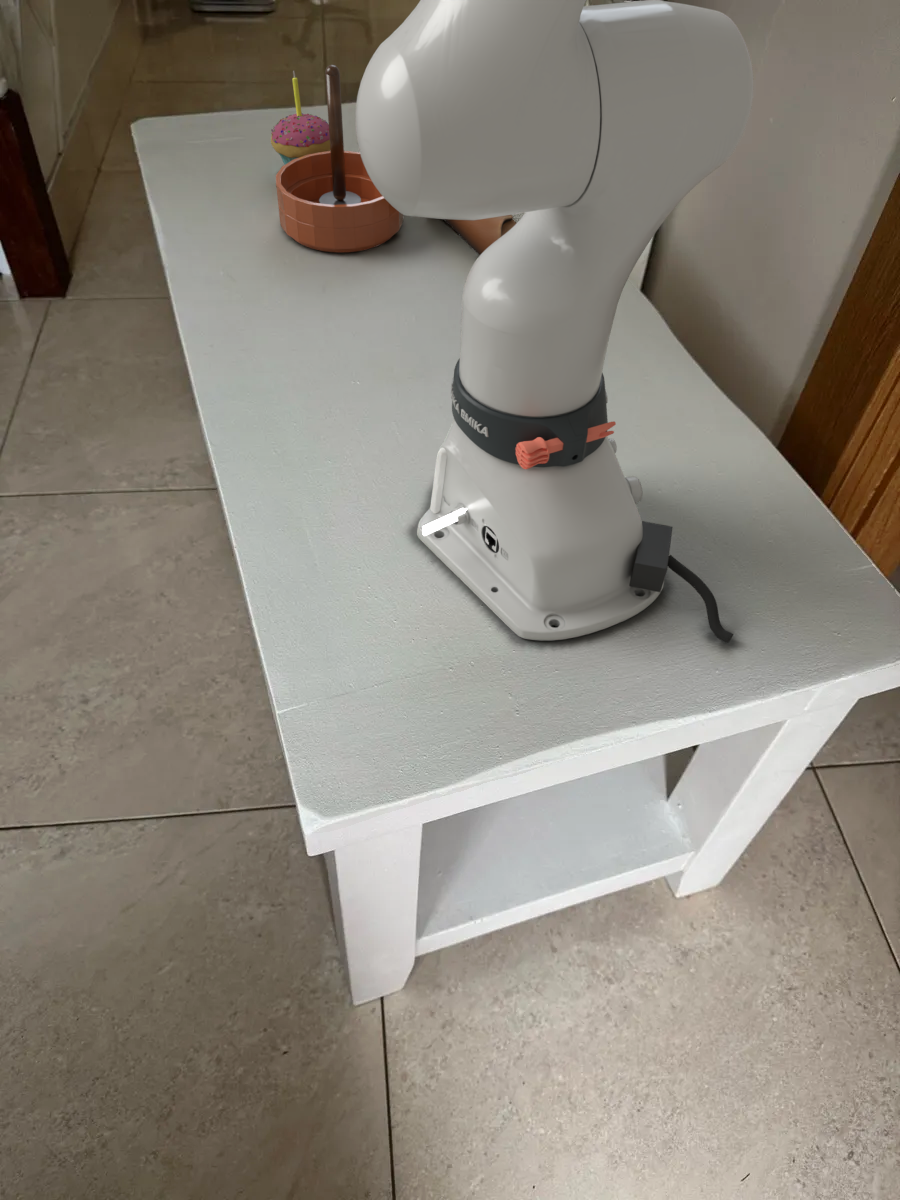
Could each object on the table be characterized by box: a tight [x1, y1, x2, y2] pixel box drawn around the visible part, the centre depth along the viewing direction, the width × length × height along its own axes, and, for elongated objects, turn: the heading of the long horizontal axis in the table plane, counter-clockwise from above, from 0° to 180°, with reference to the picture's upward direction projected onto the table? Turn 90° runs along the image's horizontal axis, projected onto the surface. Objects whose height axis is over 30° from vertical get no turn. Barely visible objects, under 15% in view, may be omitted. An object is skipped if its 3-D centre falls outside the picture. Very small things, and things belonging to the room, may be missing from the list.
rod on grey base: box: [319, 64, 361, 205], centre depth 110 cm, size 5×5×18 cm
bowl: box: [275, 150, 404, 253], centre depth 115 cm, size 15×15×6 cm
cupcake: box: [270, 70, 330, 166], centre depth 122 cm, size 9×8×12 cm
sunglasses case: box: [442, 214, 517, 256], centre depth 115 cm, size 18×7×7 cm
